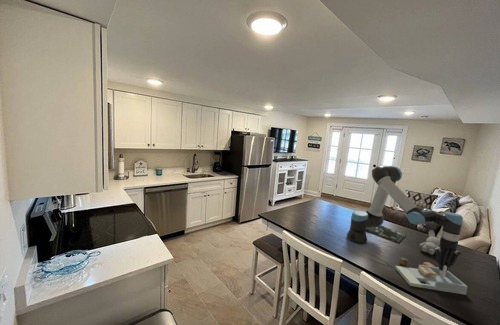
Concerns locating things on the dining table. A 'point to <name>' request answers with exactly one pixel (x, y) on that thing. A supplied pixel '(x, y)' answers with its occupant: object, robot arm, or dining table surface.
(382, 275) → the dining table surface
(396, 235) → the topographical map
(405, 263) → the walnut dowel
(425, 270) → the maple block
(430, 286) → the tray
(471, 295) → the dining table surface
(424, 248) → the toy
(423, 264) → the terracotta block
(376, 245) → the dining table surface
